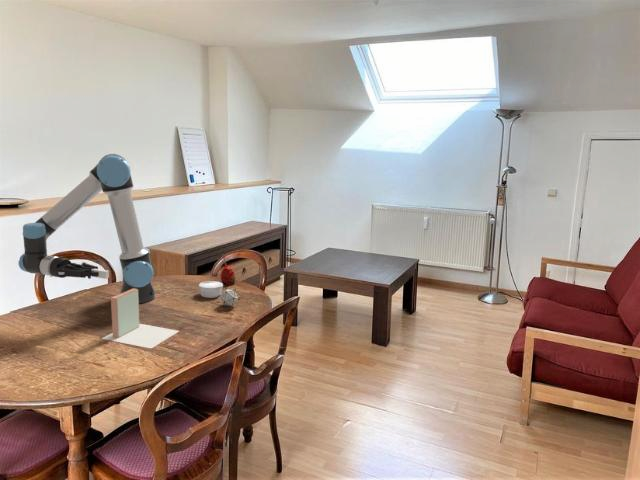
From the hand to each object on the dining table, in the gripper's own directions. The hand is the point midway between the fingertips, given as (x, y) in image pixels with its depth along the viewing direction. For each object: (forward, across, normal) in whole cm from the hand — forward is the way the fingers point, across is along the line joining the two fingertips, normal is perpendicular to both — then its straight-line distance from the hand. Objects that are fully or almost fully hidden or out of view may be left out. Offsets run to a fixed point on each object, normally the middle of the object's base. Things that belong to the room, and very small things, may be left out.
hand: (107, 274), depth 181 cm
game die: (+28, -42, -22) cm, 55 cm away
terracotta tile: (+8, 0, -21) cm, 22 cm away
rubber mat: (+14, 0, -22) cm, 26 cm away
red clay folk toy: (+11, -71, -22) cm, 75 cm away
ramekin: (+13, -52, -22) cm, 58 cm away
